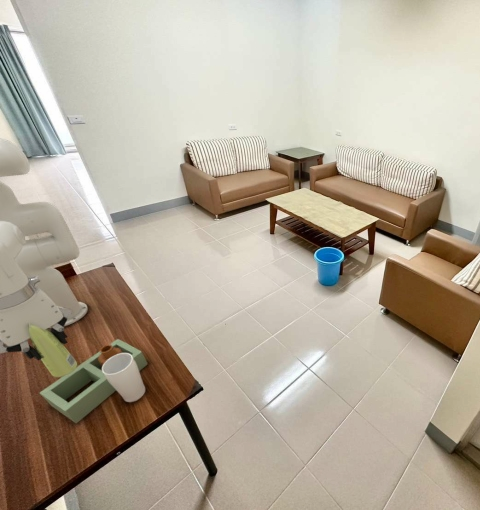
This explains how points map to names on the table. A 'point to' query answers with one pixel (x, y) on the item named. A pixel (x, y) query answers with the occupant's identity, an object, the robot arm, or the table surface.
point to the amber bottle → (108, 353)
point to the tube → (52, 351)
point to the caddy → (80, 378)
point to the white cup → (124, 376)
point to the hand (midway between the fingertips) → (49, 348)
